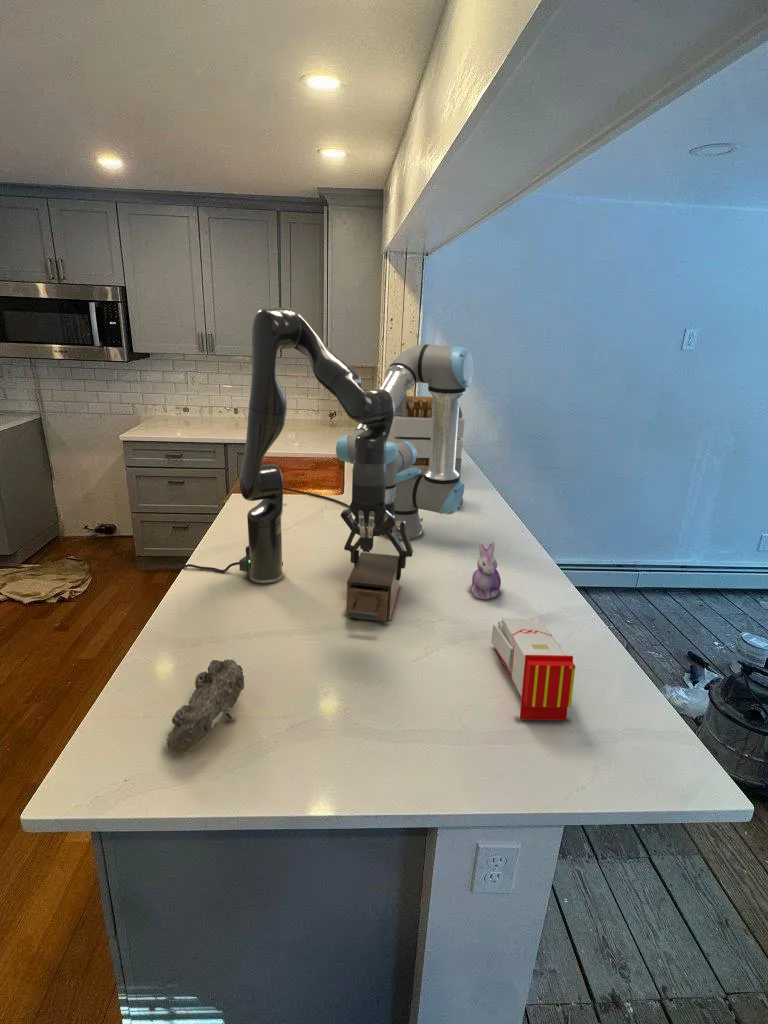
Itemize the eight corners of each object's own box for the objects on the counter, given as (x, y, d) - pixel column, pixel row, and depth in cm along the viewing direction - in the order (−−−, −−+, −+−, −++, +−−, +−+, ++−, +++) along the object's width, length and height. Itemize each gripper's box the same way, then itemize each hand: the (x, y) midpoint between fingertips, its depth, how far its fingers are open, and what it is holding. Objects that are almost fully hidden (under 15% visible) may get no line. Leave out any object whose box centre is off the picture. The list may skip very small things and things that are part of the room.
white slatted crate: (382, 463, 289) (386, 382, 275) (445, 464, 293) (451, 384, 279) (390, 482, 257) (394, 392, 243) (460, 483, 261) (468, 394, 247)
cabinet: (389, 620, 144) (391, 585, 141) (346, 615, 146) (347, 581, 143) (398, 587, 162) (400, 556, 158) (360, 583, 163) (360, 551, 160)
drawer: (382, 633, 137) (383, 605, 134) (341, 628, 138) (342, 600, 135) (395, 590, 158) (396, 564, 155) (359, 586, 159) (360, 560, 156)
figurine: (482, 603, 154) (488, 553, 149) (461, 587, 163) (466, 539, 158) (510, 597, 158) (516, 547, 153) (487, 581, 167) (493, 534, 162)
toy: (537, 603, 136) (584, 662, 106) (532, 655, 138) (577, 726, 109) (487, 602, 135) (520, 661, 106) (483, 654, 138) (514, 725, 109)
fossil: (192, 660, 117) (244, 628, 112) (224, 691, 120) (276, 661, 115) (142, 746, 98) (202, 712, 93) (182, 779, 101) (242, 748, 96)
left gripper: (336, 482, 125) (335, 554, 130) (396, 487, 123) (392, 560, 129) (343, 473, 132) (342, 542, 137) (400, 478, 130) (396, 547, 136)
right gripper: (333, 501, 147) (332, 577, 154) (424, 509, 144) (418, 586, 151) (339, 492, 154) (338, 565, 161) (426, 500, 151) (421, 574, 158)
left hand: (366, 550), depth 133 cm, fingers closed
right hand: (377, 575), depth 156 cm, fingers closed on cabinet, 11 cm apart
